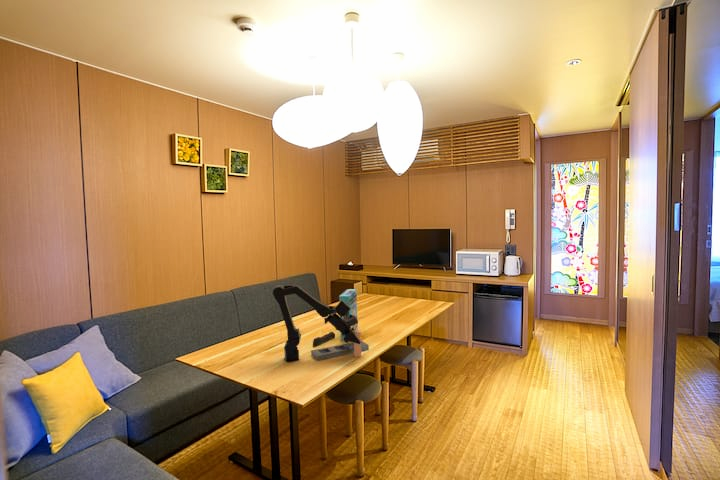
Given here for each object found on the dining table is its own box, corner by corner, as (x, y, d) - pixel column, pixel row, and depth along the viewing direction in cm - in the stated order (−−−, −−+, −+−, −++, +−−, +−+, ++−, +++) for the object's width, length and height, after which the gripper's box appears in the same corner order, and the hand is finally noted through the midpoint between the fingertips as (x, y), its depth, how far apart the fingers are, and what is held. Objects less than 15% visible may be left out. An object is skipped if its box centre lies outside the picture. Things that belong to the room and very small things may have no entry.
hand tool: (330, 337, 231) (329, 330, 230) (335, 338, 228) (335, 331, 228) (309, 347, 215) (309, 339, 215) (314, 348, 213) (314, 340, 212)
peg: (354, 356, 197) (353, 332, 196) (354, 354, 201) (353, 330, 200) (361, 356, 198) (360, 332, 197) (360, 354, 201) (359, 330, 200)
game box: (351, 341, 221) (349, 296, 219) (340, 341, 222) (338, 296, 220) (358, 331, 241) (356, 289, 239) (348, 330, 242) (347, 288, 240)
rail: (317, 360, 194) (316, 355, 194) (311, 355, 202) (311, 350, 202) (368, 349, 207) (368, 345, 207) (361, 344, 215) (361, 340, 215)
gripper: (349, 316, 188) (372, 336, 190) (347, 307, 206) (368, 325, 208) (334, 332, 188) (357, 352, 189) (333, 321, 206) (354, 340, 208)
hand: (359, 342), depth 199 cm, fingers closed on peg, 3 cm apart
